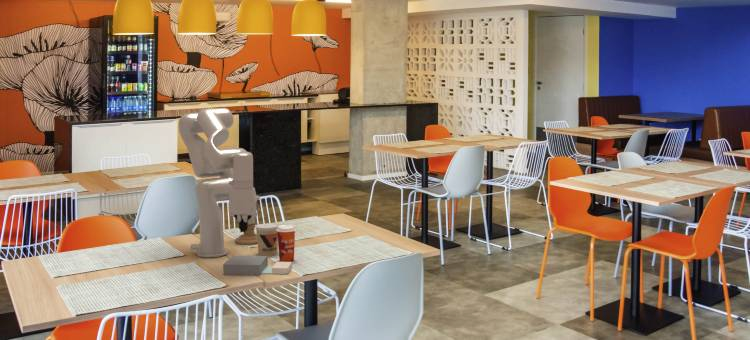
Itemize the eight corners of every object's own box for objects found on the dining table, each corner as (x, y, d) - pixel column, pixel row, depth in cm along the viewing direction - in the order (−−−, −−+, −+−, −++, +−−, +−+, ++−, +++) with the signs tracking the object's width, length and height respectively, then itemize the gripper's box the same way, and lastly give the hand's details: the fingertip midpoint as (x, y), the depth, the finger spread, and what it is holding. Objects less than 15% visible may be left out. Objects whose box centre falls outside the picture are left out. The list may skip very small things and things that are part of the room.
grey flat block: (223, 274, 290) (223, 264, 289) (232, 265, 303) (232, 255, 302) (259, 275, 289) (259, 265, 288) (267, 265, 301) (267, 255, 301)
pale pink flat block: (287, 268, 289) (287, 273, 290) (292, 261, 298) (292, 266, 299) (271, 268, 290) (271, 273, 290) (276, 261, 299) (276, 266, 299)
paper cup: (283, 264, 303) (282, 229, 301) (273, 260, 310) (272, 226, 307) (300, 261, 308) (299, 227, 306) (290, 257, 314) (289, 223, 312)
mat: (261, 273, 291) (261, 273, 291) (267, 266, 300) (267, 265, 300) (284, 274, 290) (284, 273, 290) (289, 267, 300) (289, 266, 300)
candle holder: (250, 237, 349) (249, 193, 346) (269, 241, 341) (267, 196, 338) (229, 242, 339) (227, 197, 336) (248, 246, 332) (246, 200, 329)
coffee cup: (259, 257, 314) (258, 229, 312) (254, 252, 322) (253, 224, 320) (281, 255, 317) (281, 226, 315) (276, 250, 326) (275, 222, 324)
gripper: (220, 185, 288) (221, 233, 291) (260, 187, 286) (260, 235, 290) (226, 181, 295) (226, 227, 299) (264, 183, 294) (264, 229, 297)
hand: (243, 231), depth 294 cm, fingers closed
